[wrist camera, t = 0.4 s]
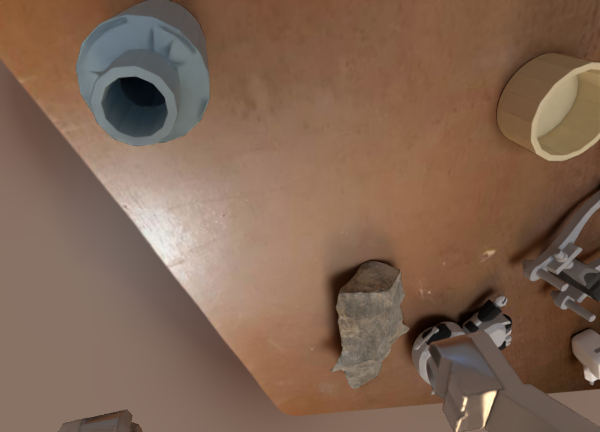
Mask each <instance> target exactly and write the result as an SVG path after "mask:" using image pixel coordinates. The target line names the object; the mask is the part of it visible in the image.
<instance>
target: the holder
mask: <svg viewBox="0 0 600 432" xmlns="http://www.w3.org/2000/svg"><path fill="white" fill-rule="evenodd" d="M497 122H498V126H499V129H500V131H501V132H502V134H503V135H504V136H505V137H506V138H507V139H509V140H511V141H513V142H514V143H516V144H518V145H519V146H521V147H523V148H525V149H527V150H529V151H531V152H532V153H534V154H536V155H538V156H540V157H542V158H544V159H545V160H547V161H564V160H567V159H569V158H572V157H575V156H577V155H580V154H581V153H583V152H584V151H585V150H587V149H588V148H589V147H591V146H592V145H594V144H595V143H596V142H597V141H598V140H599V139H600V61H597V60H592V59H587V58H583V57H578V56H574V55H569V54H561V53H547V54H544V55H540V56H538V57H536V58H534V59H532V60H531V61H529V62H528V63H526V64H525V65H523V66H522V67H521V68H520V69H519V70H518V71H517V72H516V73H515V74H514V75H513V77H512V78H511V79H510V80H509V82H508V83H507V85H506V87H505V88H504V90H503V92H502V95H501V97H500V100H499V103H498V108H497Z"/></svg>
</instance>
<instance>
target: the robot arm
mask: <svg viewBox="0 0 600 432" xmlns="http://www.w3.org/2000/svg"><path fill="white" fill-rule="evenodd" d="M428 351H429V353H430V355H431V356H430V357H429V358H428V359H427V362H426V370H427V375H428V379H429V382H430V384H431V387H432V389H433V391H434V393H435V394H436V395H437V396H439V397H440V398H442V399H443V400H444V403H443V412H444V413H445V416H446V418H447V420H448V422H449V424H450V426H451V428H452V430H453V432H466V431H470V430H475V429H480V428H485V427H486V428H485V430H487V431H488V432H600V427H599V426H598V425H596V424H594V423H592V422H591V421H589V420H588V419H586V418H584V417H583V416H581V415H580V414H578V413H576V412H575V411H573V410H571V409H570V408H568V407H567V406H565V405H563V404H562V403H560V402H558V401H557V400H555V399H554V398H552V397H550V396H548V395H547V394H545V393H544V392H542V391H541V390H539V389H537V388H536V387H534V386H532V385H531V384H525V385H524V384H523V382H522V381H521V380H520V378H519V377H518V375H517V374H516V373H515V371H514V370H513V368H512V367H511V365H510V364H509V363H508V361H507V360H506V358H505V357H504V356H503V354H502V353H501V351H500V350H499V348H498V347H497V346H496V344H495V343H494V341H493V340H492V338H491V337H490V336H489V334H488V333H486V332H485V331H478V332H473V333H469V334H463V335H459V336H455V337H451V338H447V339H442V340H438V341H434V342H431V343H430V344H429V348H428ZM131 421H132V415H131V413H130V412H129V411H128V410H122V411H118V412H113V413H109V414H104V415H100V416H95V417H91V418H84V419H80V420H75V421H71V422H67V423H64V424H63V425H62V427H61V428H60V430H59V431H58V432H142V429H141V427H140V426H139V425H138V424H136V423H133V422H131Z"/></svg>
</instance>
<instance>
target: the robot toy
mask: <svg viewBox="0 0 600 432" xmlns="http://www.w3.org/2000/svg"><path fill="white" fill-rule="evenodd" d="M506 303H507V298H506V297H504V296H503V295H498V296H497V297H495V300H494V302H491V301H490V300H488V301H487V302H486V303H485V304H484V305H483V306H482V307H480V309H479V311H478V312H477V313H475V314H474V315H472V318H470V319H469V320H467V321H466V322H465V323H463V326H462V329H461V328H460V327H459V325H457V324H456V323H453V322H441V323H439V324H437V325H436V326H434V327H430V328H428V329H426V330H425V331H424V332H423V333H421V334H419V336H418V337H417V339H416V341H415V342H414V345H413V348H412V360H413V365H414V366H415V368H416V369H417V371H418V372H419V374H420V375H421V377H422V378H423V379H424V380H425V381H426V382H427V383H428V384H430V382H429V379H428V375H427V370H426V362H427V359H428V358H429V357H430V356H431V355H430V353H429V351H428V348H429V344H430V343H431V342H434V341H438V340H442V339H447V338H451V337H455V336H459V335H463V334H469V333H473V332H478V331H485V332H486V333H488V334H489V336H490V337H491V338H492V340H493V341H494V343H495V344H496V346H497V347H498V348H499V350H503V349H504V348H505V347H506V346H507V345H509V344H510V342H511V340H512V338H511V336H509V334H510V333H511V330H512V329H511V328H510V327H511V325H512V320H511V318H510V317H509V316H507V315H505V314H501V312H502V311H501V310H500V309H499V308H498V307H501V306H504V305H505V304H506ZM430 385H431V384H430ZM432 394H435V393H434V391H432V392H431V395H432Z"/></svg>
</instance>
